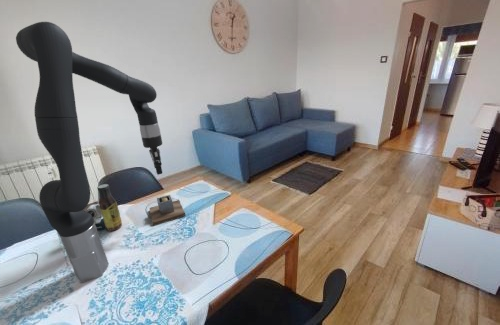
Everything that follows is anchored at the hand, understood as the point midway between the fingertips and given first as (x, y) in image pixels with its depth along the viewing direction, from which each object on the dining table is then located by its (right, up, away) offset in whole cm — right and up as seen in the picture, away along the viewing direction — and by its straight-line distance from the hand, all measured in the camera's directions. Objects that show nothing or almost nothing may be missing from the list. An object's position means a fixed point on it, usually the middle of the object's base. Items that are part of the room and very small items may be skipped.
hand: (158, 170), depth 102 cm
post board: (+1, -20, +8) cm, 22 cm away
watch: (-25, -25, 0) cm, 36 cm away
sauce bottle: (-19, -25, 0) cm, 31 cm away
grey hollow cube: (+1, -19, +7) cm, 20 cm away
